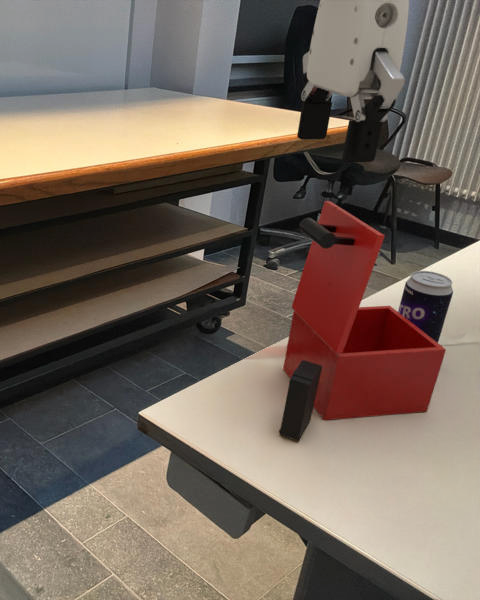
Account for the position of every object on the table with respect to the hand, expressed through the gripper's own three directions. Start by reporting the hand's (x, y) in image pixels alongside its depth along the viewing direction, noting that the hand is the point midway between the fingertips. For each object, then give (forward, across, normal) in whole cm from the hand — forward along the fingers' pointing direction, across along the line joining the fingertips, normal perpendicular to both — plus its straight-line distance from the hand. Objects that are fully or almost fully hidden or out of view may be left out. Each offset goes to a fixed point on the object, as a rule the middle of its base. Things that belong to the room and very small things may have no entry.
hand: (333, 149), depth 71 cm
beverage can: (+31, +6, -21) cm, 38 cm away
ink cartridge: (+31, -7, +2) cm, 32 cm away
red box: (+31, 0, -9) cm, 32 cm away
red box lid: (+15, 0, -3) cm, 15 cm away
